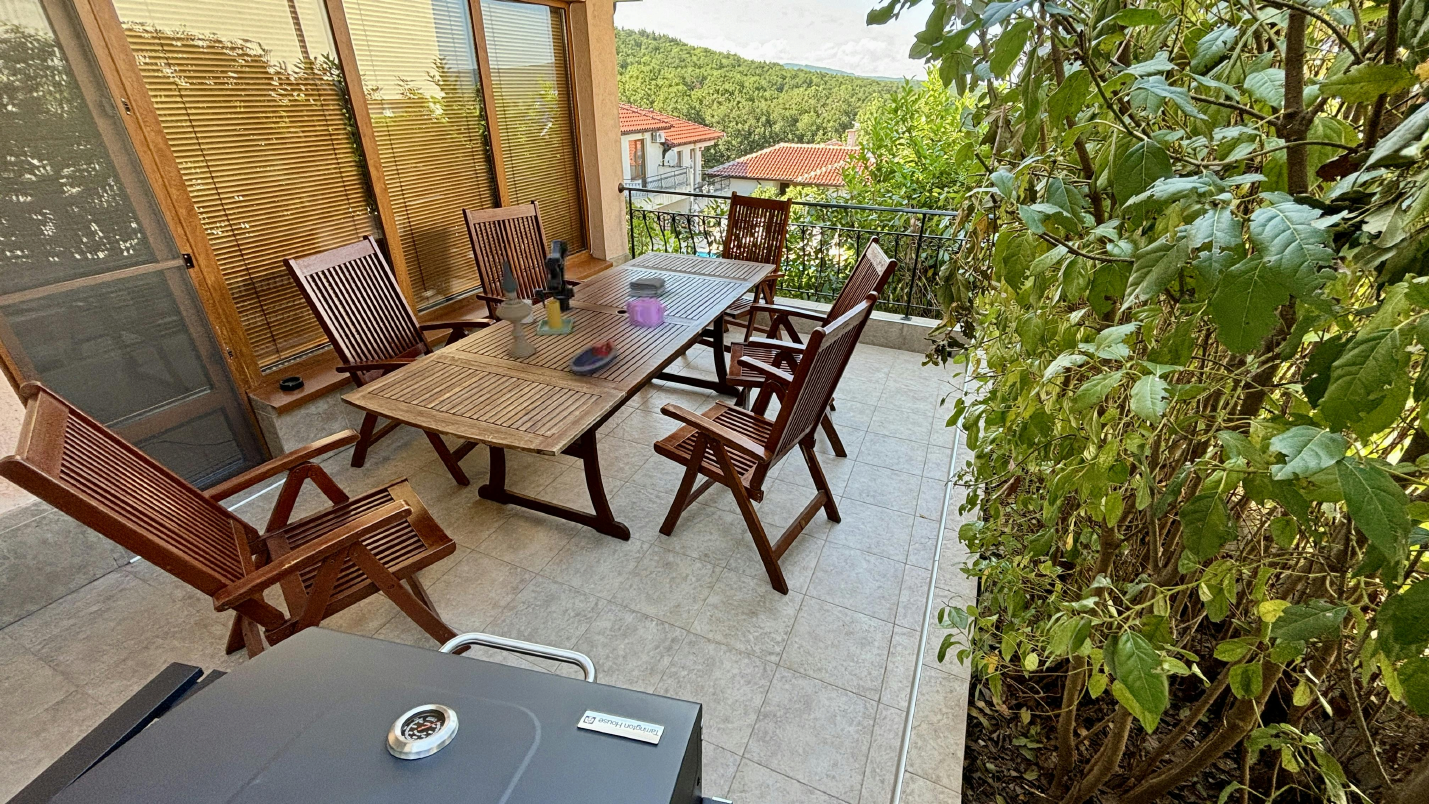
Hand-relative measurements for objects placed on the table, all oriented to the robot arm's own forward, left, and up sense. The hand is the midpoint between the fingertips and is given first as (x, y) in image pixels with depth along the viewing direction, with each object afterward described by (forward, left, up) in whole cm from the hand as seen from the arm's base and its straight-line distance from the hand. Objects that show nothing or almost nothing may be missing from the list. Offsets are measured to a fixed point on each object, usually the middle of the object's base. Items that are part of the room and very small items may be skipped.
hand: (554, 308), depth 289 cm
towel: (-64, +4, -9) cm, 65 cm away
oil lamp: (+33, +13, -9) cm, 36 cm away
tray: (+4, +3, -8) cm, 10 cm away
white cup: (+4, -18, -9) cm, 20 cm away
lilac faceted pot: (-26, +36, -9) cm, 45 cm away
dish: (+25, +50, -9) cm, 56 cm away
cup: (+4, +3, -8) cm, 9 cm away
